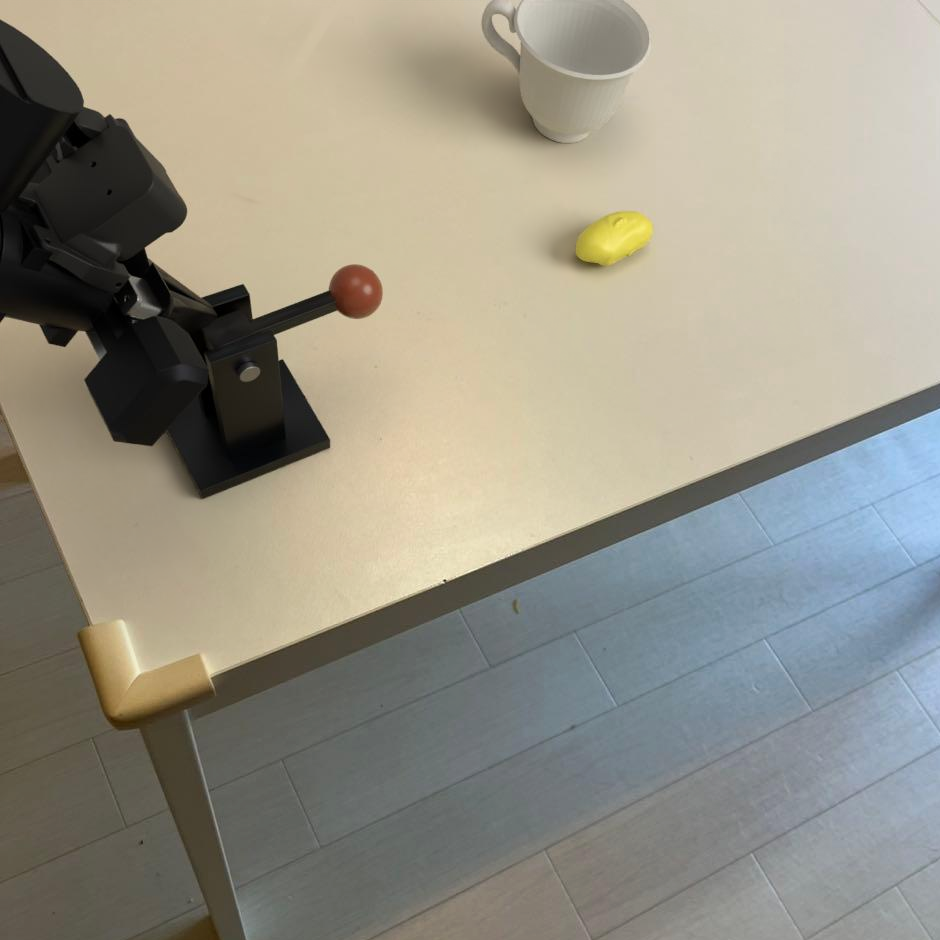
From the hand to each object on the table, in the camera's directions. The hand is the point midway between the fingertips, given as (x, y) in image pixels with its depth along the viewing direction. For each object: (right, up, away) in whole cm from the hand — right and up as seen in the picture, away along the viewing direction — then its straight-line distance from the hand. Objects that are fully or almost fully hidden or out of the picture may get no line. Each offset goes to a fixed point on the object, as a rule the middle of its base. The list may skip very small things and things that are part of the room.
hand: (211, 316), depth 63 cm
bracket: (-2, -6, +13) cm, 14 cm away
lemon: (+26, +11, +27) cm, 39 cm away
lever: (+4, 0, +6) cm, 7 cm away
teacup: (+21, +26, +33) cm, 47 cm away
